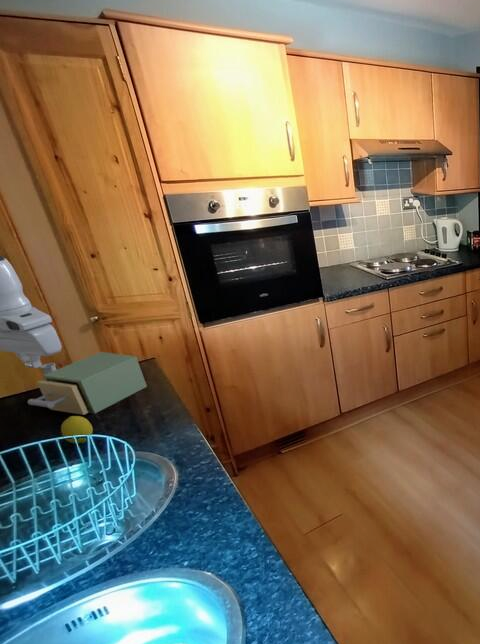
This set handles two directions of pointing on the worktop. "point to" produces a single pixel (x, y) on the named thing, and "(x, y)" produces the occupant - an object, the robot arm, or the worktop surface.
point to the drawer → (62, 396)
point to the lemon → (76, 428)
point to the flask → (48, 368)
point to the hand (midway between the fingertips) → (34, 366)
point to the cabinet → (103, 378)
